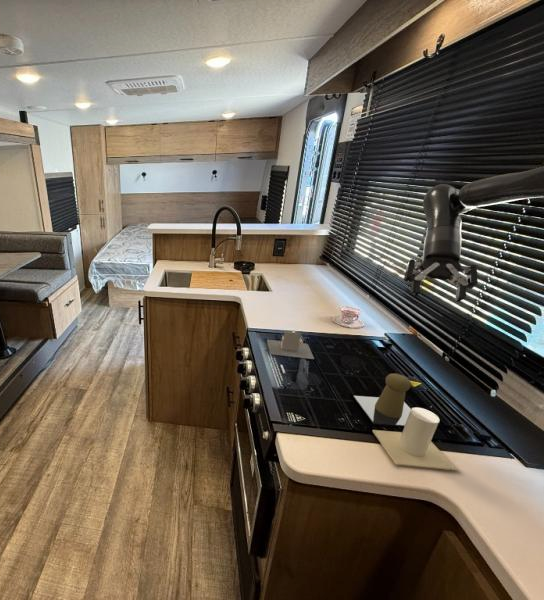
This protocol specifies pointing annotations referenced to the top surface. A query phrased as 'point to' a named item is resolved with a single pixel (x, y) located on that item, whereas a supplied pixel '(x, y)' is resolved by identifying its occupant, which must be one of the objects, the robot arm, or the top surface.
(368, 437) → the top surface
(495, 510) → the top surface
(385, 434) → the cream mat
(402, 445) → the beige cylinder
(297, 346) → the architectural model
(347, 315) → the teacup
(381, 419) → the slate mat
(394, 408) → the cork
